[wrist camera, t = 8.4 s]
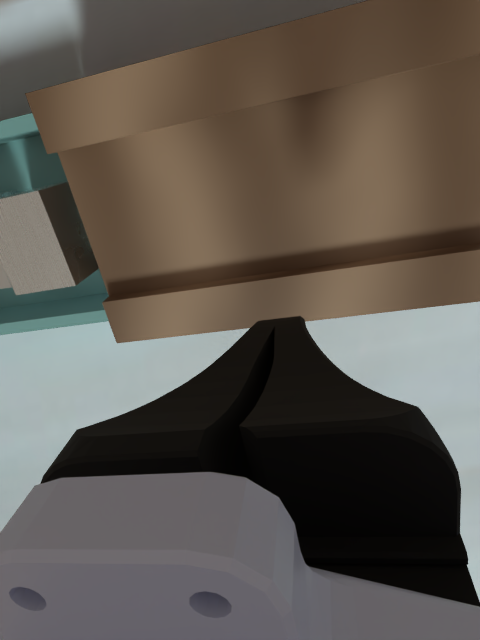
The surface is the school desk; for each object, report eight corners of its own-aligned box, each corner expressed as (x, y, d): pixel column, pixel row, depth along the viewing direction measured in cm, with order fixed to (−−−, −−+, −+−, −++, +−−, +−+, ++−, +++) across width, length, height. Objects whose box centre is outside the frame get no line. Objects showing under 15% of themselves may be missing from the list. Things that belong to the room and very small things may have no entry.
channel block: (449, 3, 15) (501, -37, 11) (448, 260, 20) (485, 300, 15) (88, 97, 19) (25, 93, 15) (151, 301, 23) (116, 343, 19)
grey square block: (32, 188, 20) (86, 176, 20) (63, 266, 22) (114, 257, 21) (-27, 204, 17) (38, 190, 16) (16, 295, 19) (75, 285, 18)
